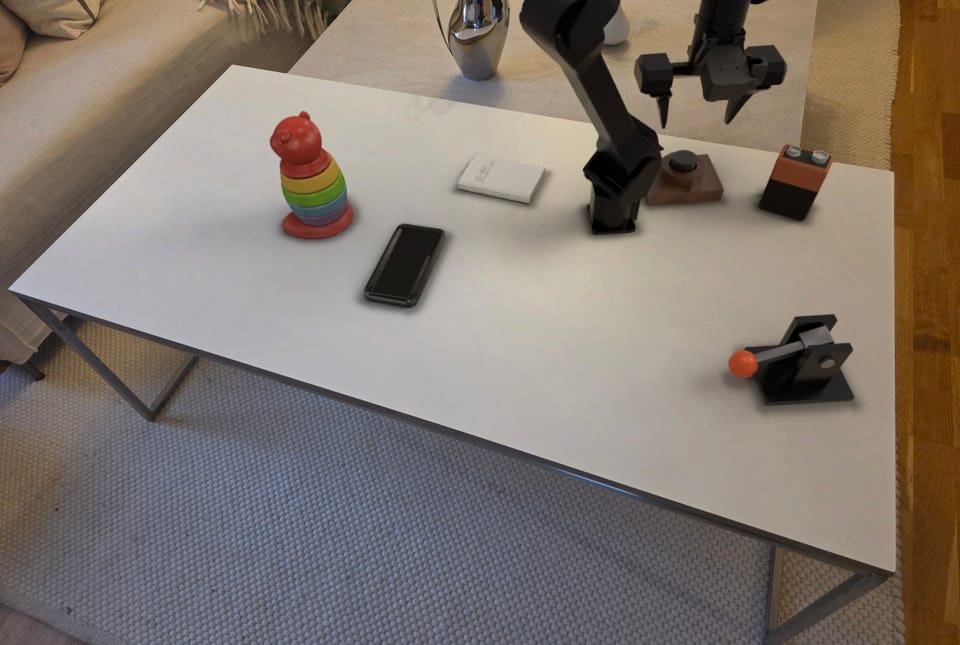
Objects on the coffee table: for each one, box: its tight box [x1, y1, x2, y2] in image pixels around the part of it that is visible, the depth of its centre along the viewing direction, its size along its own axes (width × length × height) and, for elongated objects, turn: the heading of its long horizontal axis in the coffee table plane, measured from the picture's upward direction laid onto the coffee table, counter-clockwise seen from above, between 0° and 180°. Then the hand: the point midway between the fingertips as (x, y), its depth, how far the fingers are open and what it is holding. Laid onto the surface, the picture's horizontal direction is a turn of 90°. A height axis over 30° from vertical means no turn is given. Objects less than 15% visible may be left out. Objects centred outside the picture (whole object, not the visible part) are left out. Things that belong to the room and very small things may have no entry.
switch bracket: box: [743, 313, 856, 407], centre depth 67 cm, size 10×8×9 cm
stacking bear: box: [269, 110, 354, 239], centre depth 87 cm, size 11×10×18 cm
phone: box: [363, 223, 447, 308], centre depth 86 cm, size 8×1×15 cm
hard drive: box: [457, 154, 546, 204], centre depth 97 cm, size 2×8×12 cm
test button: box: [671, 149, 697, 173], centre depth 90 cm, size 4×4×2 cm
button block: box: [646, 151, 725, 206], centre depth 92 cm, size 11×9×4 cm
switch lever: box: [727, 326, 835, 379], centre depth 67 cm, size 11×3×3 cm, turn 93°
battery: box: [758, 143, 835, 221], centre depth 85 cm, size 4×7×10 cm, turn 58°
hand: (694, 125), depth 85 cm, fingers open, 9 cm apart
